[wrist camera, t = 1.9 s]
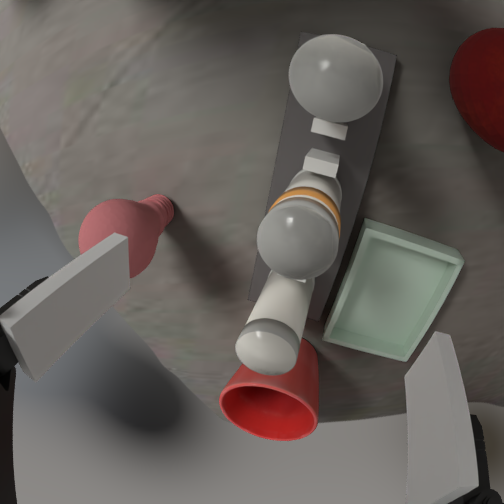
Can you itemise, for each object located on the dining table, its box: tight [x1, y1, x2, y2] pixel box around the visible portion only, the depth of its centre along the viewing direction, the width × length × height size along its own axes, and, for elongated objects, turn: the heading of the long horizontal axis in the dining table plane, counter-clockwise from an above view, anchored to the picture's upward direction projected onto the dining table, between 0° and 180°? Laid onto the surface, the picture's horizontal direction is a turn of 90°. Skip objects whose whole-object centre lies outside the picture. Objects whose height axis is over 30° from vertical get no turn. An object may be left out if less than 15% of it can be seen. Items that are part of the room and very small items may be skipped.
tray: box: [322, 218, 465, 362], centre depth 28 cm, size 13×10×2 cm
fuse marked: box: [257, 169, 342, 280], centre depth 21 cm, size 5×5×11 cm
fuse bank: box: [248, 32, 397, 322], centre depth 25 cm, size 27×8×6 cm, turn 170°
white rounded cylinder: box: [289, 34, 383, 122], centre depth 17 cm, size 4×4×11 cm
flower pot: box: [219, 338, 319, 441], centre depth 33 cm, size 11×11×10 cm
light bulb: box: [79, 194, 174, 278], centre depth 27 cm, size 7×7×12 cm
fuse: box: [235, 269, 316, 376], centre depth 26 cm, size 4×4×11 cm
